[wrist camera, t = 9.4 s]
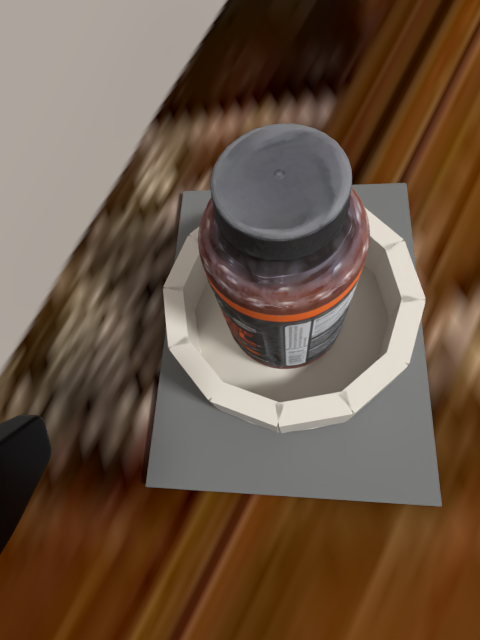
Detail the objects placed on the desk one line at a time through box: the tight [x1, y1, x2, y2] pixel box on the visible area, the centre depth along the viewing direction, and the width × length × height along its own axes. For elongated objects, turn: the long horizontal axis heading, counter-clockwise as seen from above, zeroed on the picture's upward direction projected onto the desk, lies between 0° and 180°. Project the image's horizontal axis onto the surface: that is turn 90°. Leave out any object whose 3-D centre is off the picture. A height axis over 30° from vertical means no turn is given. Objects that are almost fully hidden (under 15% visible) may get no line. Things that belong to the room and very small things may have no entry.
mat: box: [146, 183, 442, 506], centre depth 23 cm, size 18×14×1 cm
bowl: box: [163, 207, 425, 433], centre depth 21 cm, size 12×12×4 cm
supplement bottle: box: [198, 124, 370, 369], centre depth 16 cm, size 6×6×11 cm
